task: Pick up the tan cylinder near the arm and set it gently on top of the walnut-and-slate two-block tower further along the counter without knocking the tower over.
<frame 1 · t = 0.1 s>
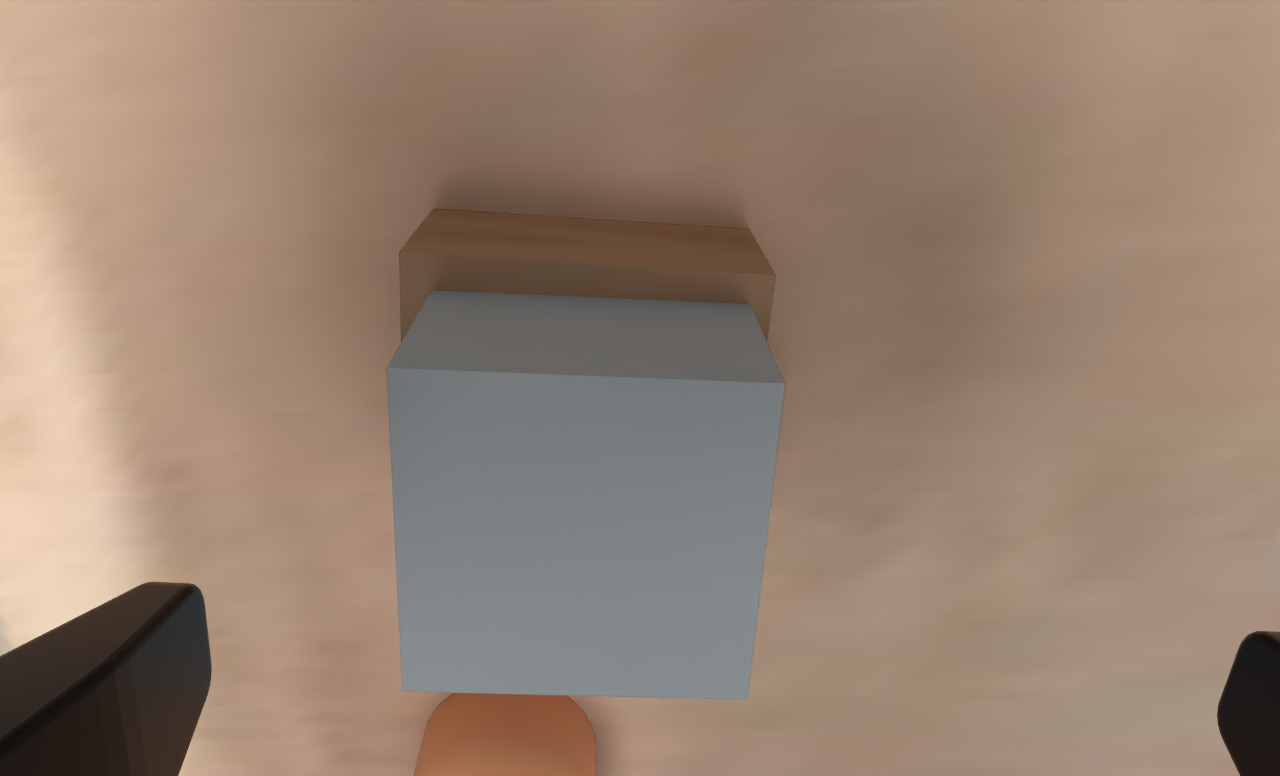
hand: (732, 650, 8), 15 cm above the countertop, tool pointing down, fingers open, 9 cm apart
tan cylinder: (510, 747, 27), on the countertop
tower base: (584, 362, 23), on the countertop, touching tower top
tower top: (586, 440, 20), point 4 cm above the countertop, touching tower base
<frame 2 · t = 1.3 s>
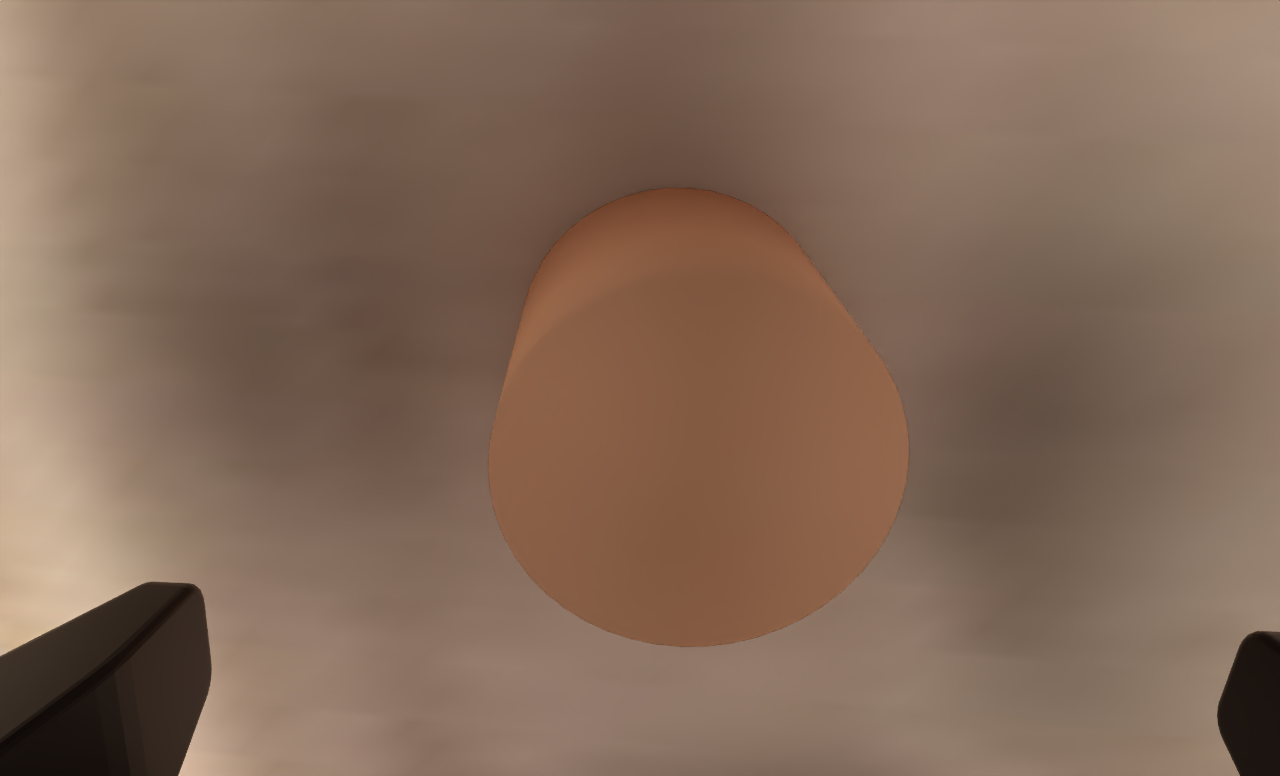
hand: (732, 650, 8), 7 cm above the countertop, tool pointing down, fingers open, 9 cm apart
tan cylinder: (674, 340, 15), on the countertop
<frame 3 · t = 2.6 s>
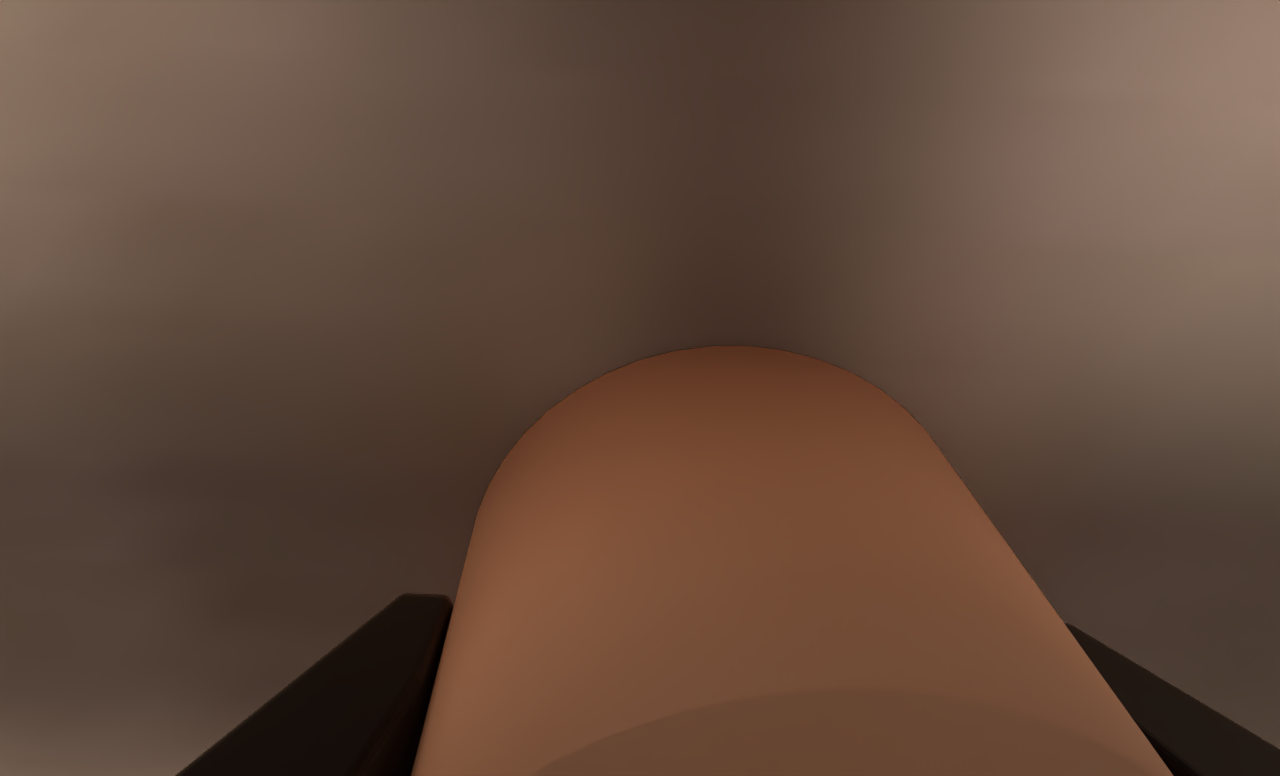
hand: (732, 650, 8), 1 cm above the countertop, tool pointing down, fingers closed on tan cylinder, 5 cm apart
tan cylinder: (719, 581, 9), on the countertop, touching gripper
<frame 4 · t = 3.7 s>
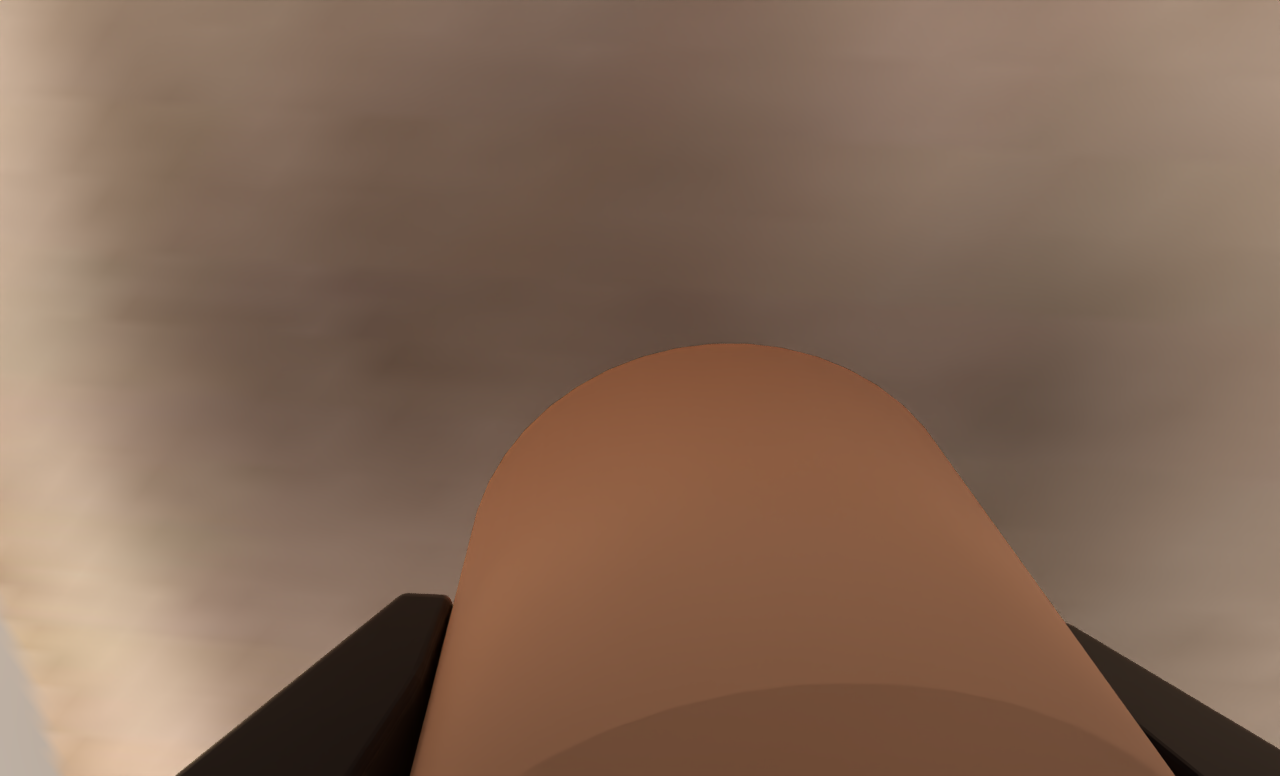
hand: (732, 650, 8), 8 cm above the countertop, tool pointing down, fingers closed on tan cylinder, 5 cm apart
tan cylinder: (719, 578, 9), point 7 cm above the countertop, touching gripper
when the fingers open (10 cm above the countertop, at t = 5.6 s): tan cylinder drops 2 cm, resting on tower top.
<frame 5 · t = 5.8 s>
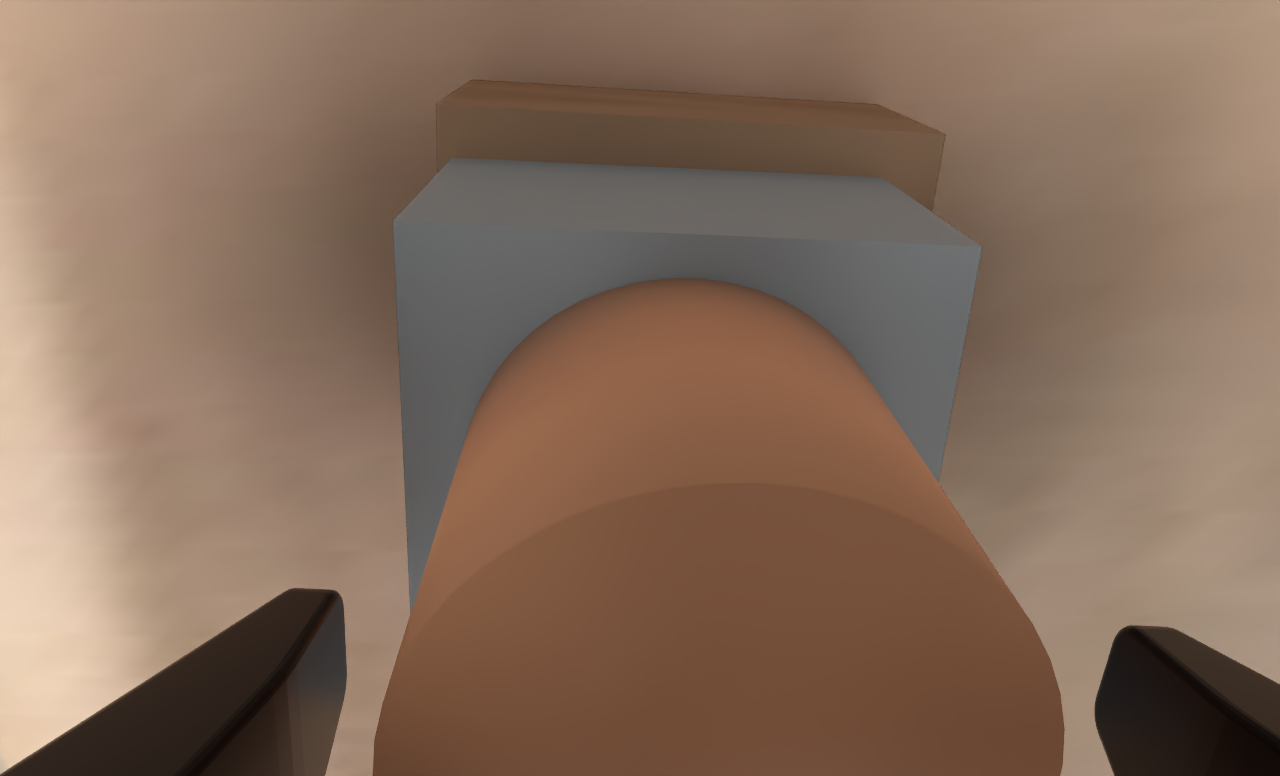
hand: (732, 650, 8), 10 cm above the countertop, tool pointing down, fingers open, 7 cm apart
tan cylinder: (677, 484, 11), point 8 cm above the countertop, touching tower top
tower base: (661, 284, 18), on the countertop, touching tower top
tower top: (657, 368, 15), point 4 cm above the countertop, touching tan cylinder, tower base
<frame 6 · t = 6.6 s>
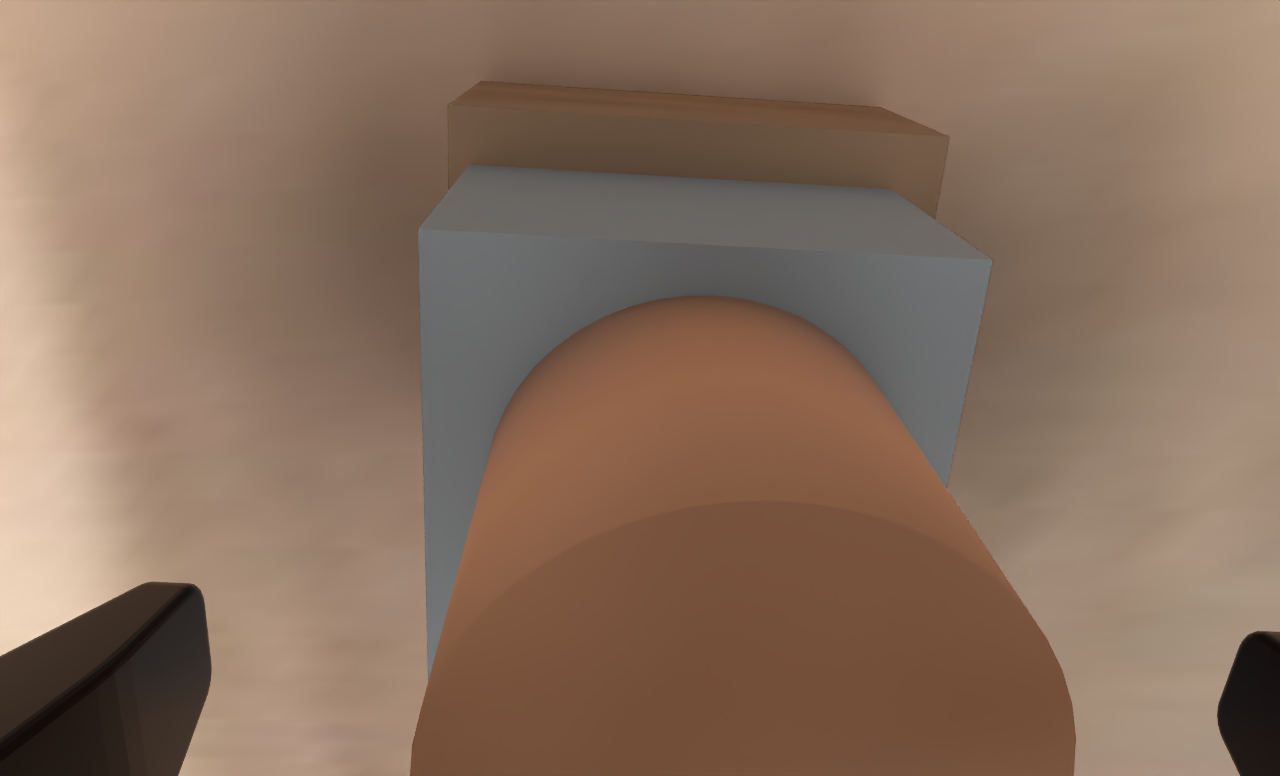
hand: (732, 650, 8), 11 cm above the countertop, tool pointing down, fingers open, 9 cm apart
tan cylinder: (695, 495, 11), point 8 cm above the countertop, touching tower top
tower base: (667, 284, 19), on the countertop, touching tower top
tower top: (667, 374, 15), point 4 cm above the countertop, touching tan cylinder, tower base
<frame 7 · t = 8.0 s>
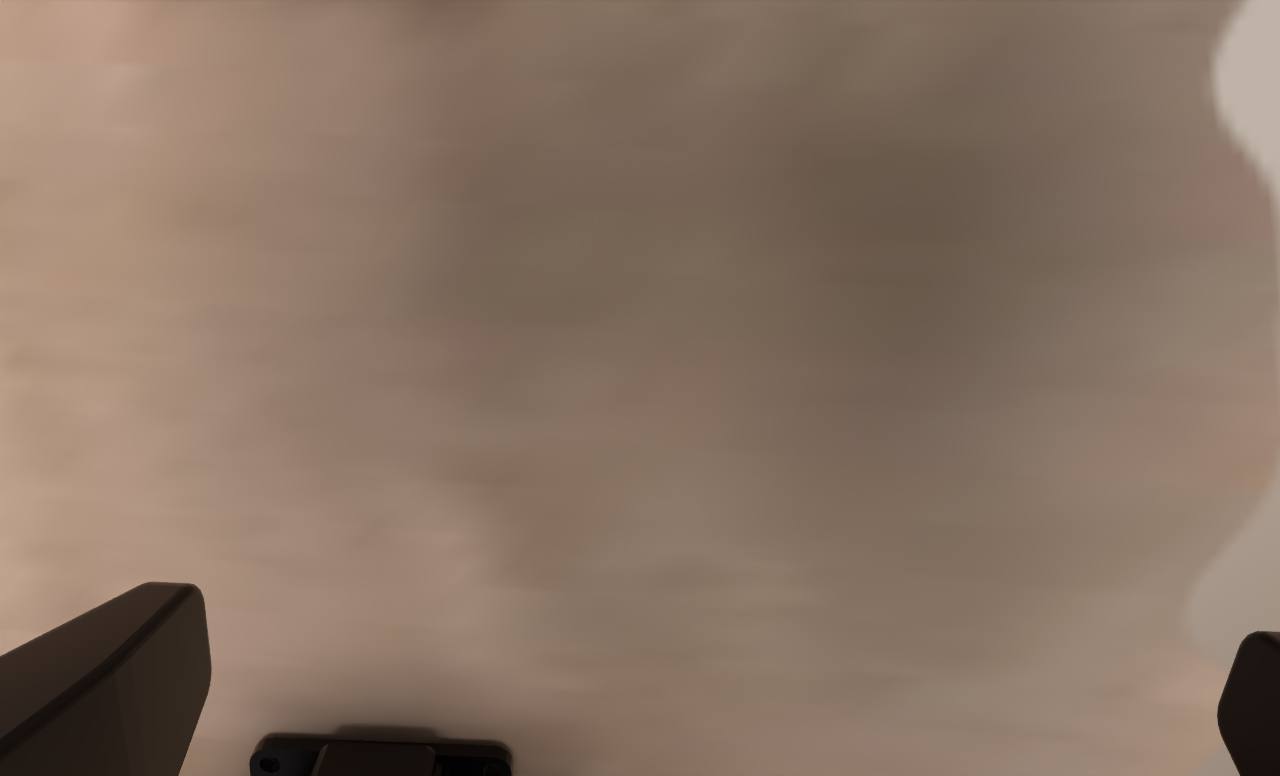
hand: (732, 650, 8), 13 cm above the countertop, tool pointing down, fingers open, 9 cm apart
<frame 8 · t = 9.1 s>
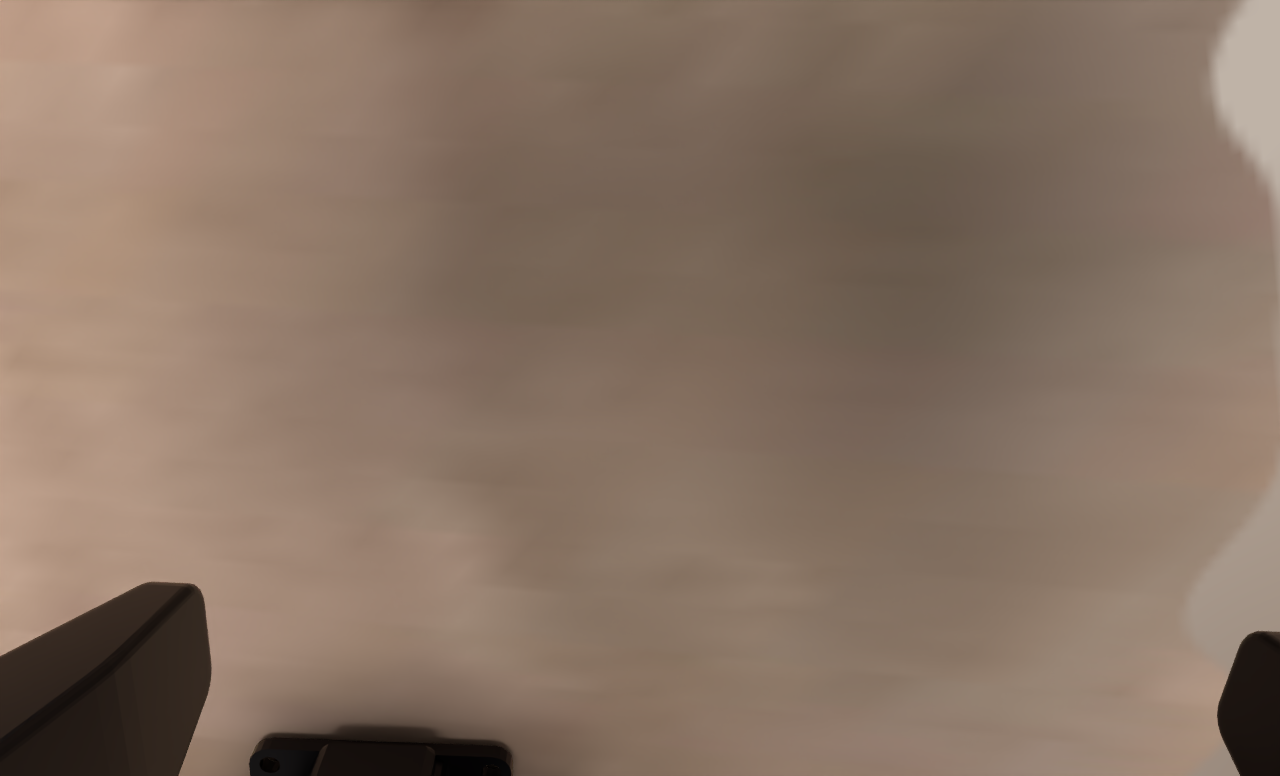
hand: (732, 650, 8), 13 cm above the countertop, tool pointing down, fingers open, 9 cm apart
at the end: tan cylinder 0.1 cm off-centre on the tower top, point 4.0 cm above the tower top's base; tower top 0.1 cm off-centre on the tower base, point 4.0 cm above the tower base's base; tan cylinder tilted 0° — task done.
